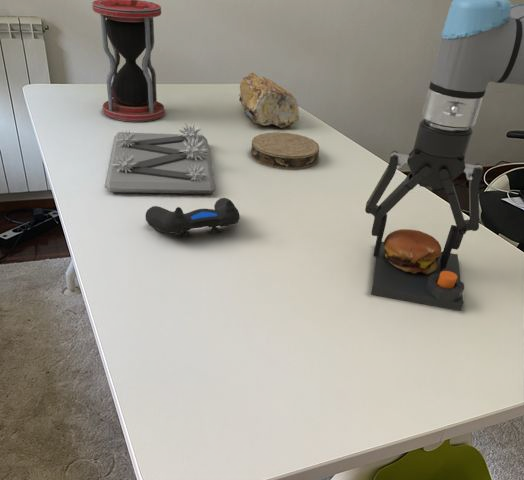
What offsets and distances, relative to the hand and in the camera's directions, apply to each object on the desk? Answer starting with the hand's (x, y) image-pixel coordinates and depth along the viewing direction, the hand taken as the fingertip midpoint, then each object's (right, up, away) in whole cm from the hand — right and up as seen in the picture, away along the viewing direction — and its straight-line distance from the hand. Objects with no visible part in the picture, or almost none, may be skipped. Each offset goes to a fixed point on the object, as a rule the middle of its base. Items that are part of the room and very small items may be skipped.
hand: (409, 258), depth 93 cm
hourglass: (-59, +48, +55) cm, 94 cm away
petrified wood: (-24, +49, +60) cm, 81 cm away
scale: (+1, -3, -1) cm, 3 cm away
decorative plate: (-47, +24, +27) cm, 59 cm away
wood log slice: (-20, +31, +38) cm, 53 cm away
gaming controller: (-37, +6, +6) cm, 38 cm away
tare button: (+4, -5, -7) cm, 10 cm away
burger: (0, -1, 0) cm, 1 cm away
